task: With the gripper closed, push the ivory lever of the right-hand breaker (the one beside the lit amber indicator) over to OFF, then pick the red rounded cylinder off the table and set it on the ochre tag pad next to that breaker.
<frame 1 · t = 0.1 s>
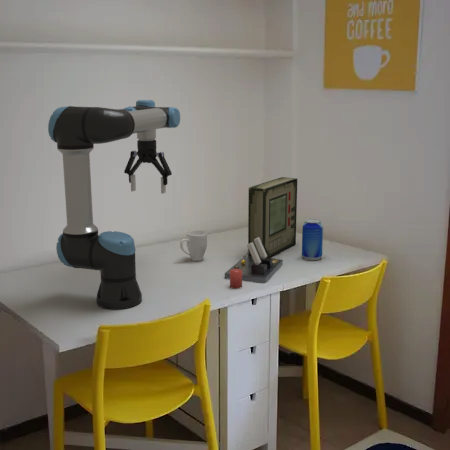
hand: (148, 191, 255), 28 cm above the table, fingers open, 13 cm apart
breaker b: (260, 248, 243), point 9 cm above the table, hinge at -25.0°
control panel: (272, 251, 271), on the table
red rounded cylinder: (236, 286, 228), on the table
panel: (254, 271, 245), on the table
breaker a: (254, 254, 235), point 9 cm above the table, hinge at -25.0°
mug: (193, 260, 259), on the table
beer can: (311, 258, 262), on the table
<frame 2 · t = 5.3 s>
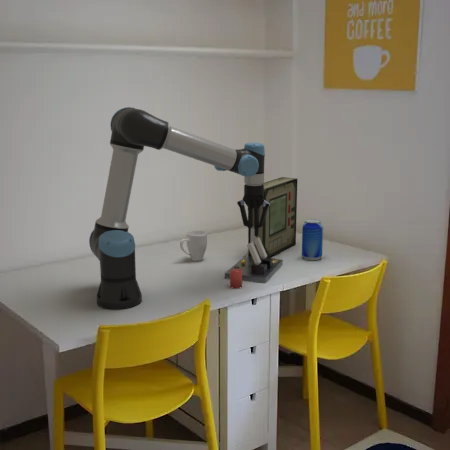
hand: (253, 244, 243), 11 cm above the table, fingers closed
breaker b: (260, 248, 243), point 9 cm above the table, hinge at -24.9°, touching gripper
everything else where it was.
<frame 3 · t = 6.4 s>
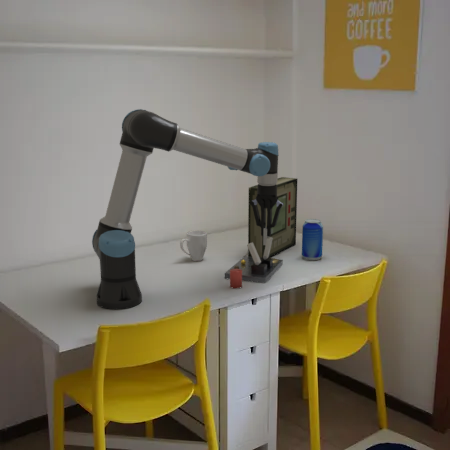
hand: (265, 244, 242), 11 cm above the table, fingers closed
breaker b: (267, 248, 242), point 9 cm above the table, hinge at 11.4°, touching gripper
everything else where it was.
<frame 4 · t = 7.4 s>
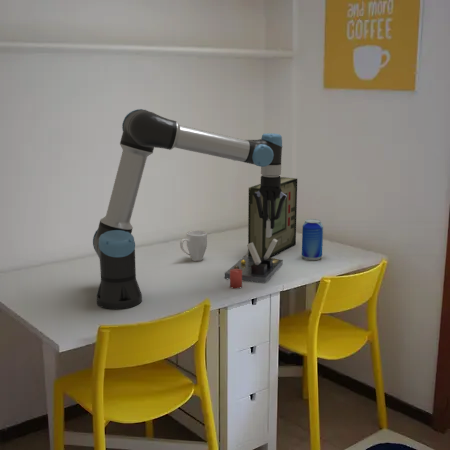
hand: (268, 236, 240), 14 cm above the table, fingers closed
breaker b: (270, 249, 241), point 9 cm above the table, hinge at 25.6°
everything else where it was.
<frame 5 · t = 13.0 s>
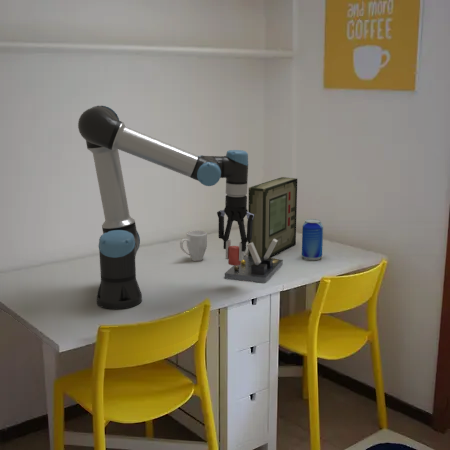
hand: (234, 258, 225), 10 cm above the table, fingers closed on red rounded cylinder, 4 cm apart
red rounded cylinder: (234, 263, 226), point 9 cm above the table, touching gripper
everything else where it was.
when the fingers open (3 cm above the table, at t = 18.5 s): red rounded cylinder stays where it is, resting on panel.
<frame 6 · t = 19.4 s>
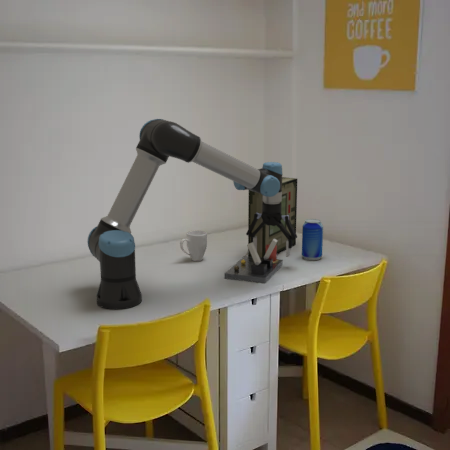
hand: (271, 254, 250), 5 cm above the table, fingers open, 13 cm apart
red rounded cylinder: (270, 260, 251), point 2 cm above the table, touching panel
everything else where it was.
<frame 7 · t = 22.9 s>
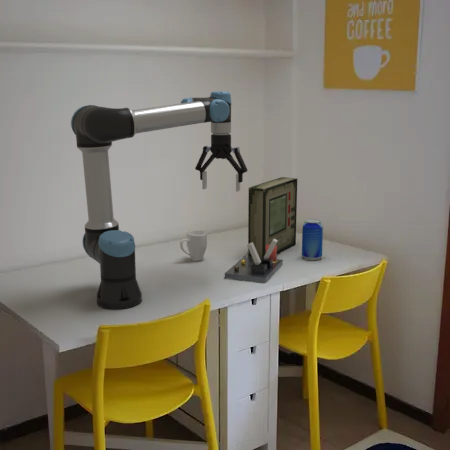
hand: (221, 189, 239), 32 cm above the table, fingers open, 13 cm apart
nothing on the table moved.
at the end: breaker b at +26° (first picture: -25°); red rounded cylinder 0.0 cm from the target spot on the panel, point 2.3 cm above the panel's base; red rounded cylinder tilted 0° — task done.
